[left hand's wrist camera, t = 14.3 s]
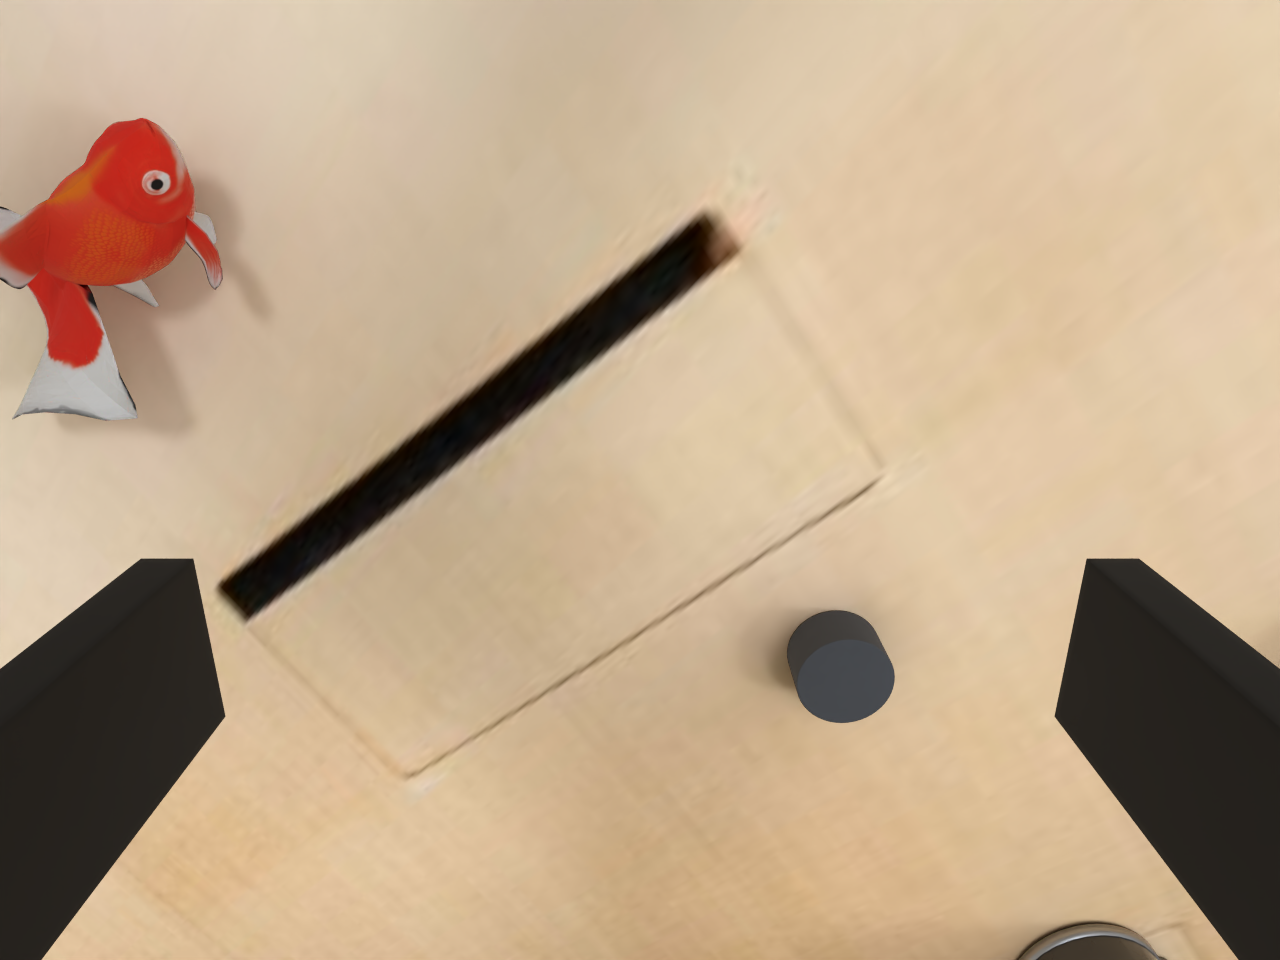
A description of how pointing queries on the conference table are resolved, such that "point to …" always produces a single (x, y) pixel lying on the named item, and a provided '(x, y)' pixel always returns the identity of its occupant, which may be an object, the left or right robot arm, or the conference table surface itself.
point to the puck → (840, 667)
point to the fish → (101, 260)
